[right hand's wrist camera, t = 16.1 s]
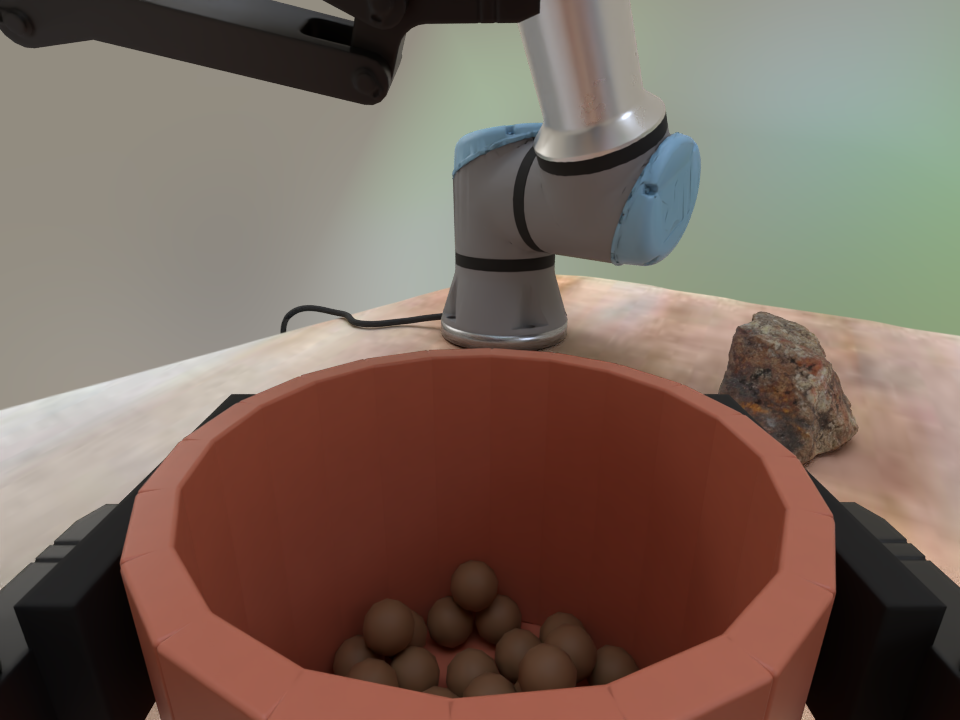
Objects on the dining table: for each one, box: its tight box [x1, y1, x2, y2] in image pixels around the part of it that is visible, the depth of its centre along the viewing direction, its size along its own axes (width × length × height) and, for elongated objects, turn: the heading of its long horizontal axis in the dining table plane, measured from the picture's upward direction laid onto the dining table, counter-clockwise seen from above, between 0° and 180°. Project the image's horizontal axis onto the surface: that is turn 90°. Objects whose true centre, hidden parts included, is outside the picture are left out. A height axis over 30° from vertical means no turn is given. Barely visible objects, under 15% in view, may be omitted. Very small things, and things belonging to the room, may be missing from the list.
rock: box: [718, 312, 858, 465], centre depth 44 cm, size 14×9×10 cm
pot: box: [120, 348, 836, 720], centre depth 11 cm, size 10×10×9 cm
